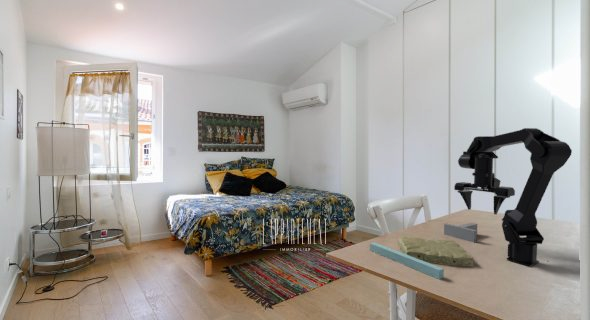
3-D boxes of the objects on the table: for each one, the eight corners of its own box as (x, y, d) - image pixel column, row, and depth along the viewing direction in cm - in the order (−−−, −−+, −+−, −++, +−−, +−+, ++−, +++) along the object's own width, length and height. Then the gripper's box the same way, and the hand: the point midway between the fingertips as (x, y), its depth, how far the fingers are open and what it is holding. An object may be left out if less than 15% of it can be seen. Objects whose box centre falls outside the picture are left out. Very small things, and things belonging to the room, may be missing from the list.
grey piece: (489, 237, 118) (489, 226, 118) (473, 242, 112) (474, 231, 112) (459, 230, 128) (460, 220, 128) (443, 234, 122) (444, 223, 122)
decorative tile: (397, 244, 111) (397, 235, 111) (454, 248, 107) (455, 238, 107) (405, 263, 93) (405, 252, 93) (475, 269, 89) (476, 257, 89)
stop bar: (443, 277, 82) (443, 268, 82) (439, 279, 81) (439, 270, 81) (373, 249, 104) (374, 242, 104) (369, 250, 103) (369, 243, 103)
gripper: (522, 171, 106) (521, 214, 107) (469, 167, 122) (468, 205, 122) (507, 172, 100) (506, 218, 101) (454, 168, 116) (452, 208, 117)
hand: (482, 211), depth 110 cm, fingers open, 9 cm apart
